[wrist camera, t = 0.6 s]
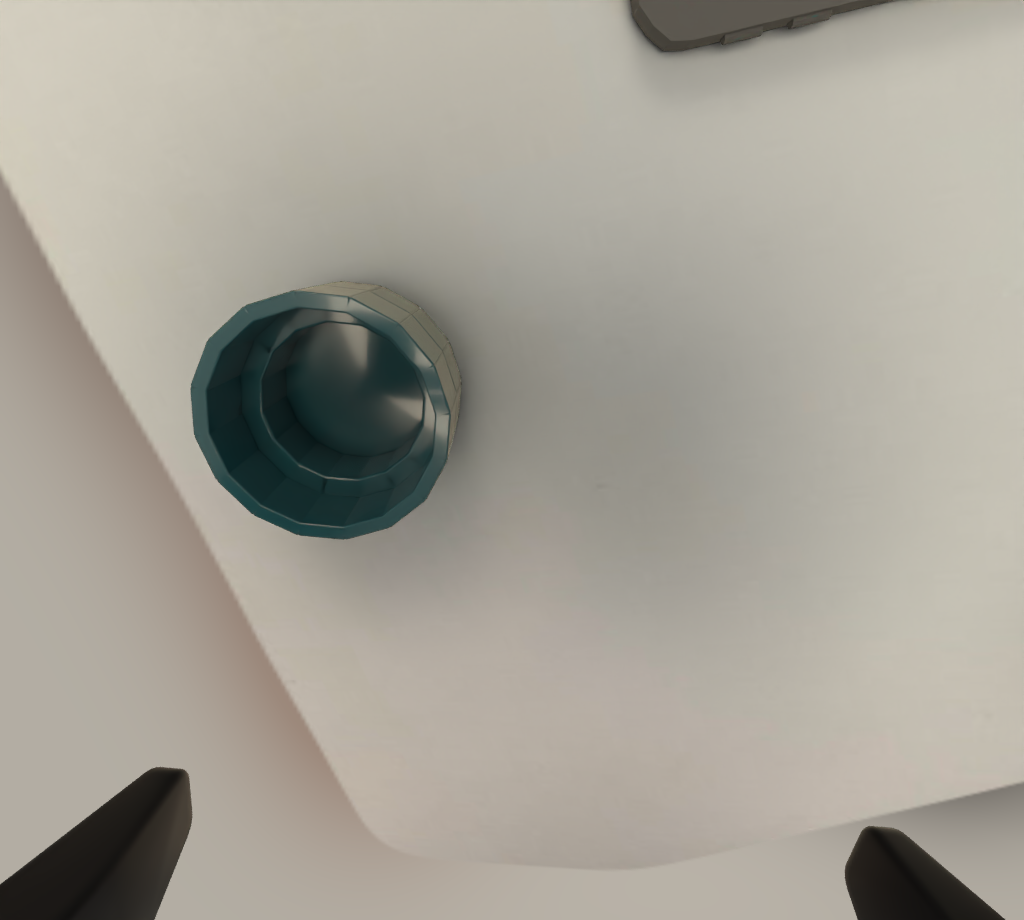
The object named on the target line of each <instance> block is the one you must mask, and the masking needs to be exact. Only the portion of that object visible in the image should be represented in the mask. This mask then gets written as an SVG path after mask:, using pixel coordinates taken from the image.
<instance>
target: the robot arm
mask: <svg viewBox="0 0 1024 920" xmlns="http://www.w3.org/2000/svg"><path fill="white" fill-rule="evenodd" d="M191 822H192V805H191V793H190V783H189V776H188V773H187V772H186V771H185V770H183V769H175V768H164V767H156V768H153V769H150V770H149V771H147V772H145V773H144V774H143V775H141V776H140V777H139V778H138V779H136V780H135V781H134V782H132V783H131V784H130V785H128V787H126V788H125V789H123V790H122V791H121V792H120V793H118V794H117V795H116V796H114V797H113V798H112V799H111V800H109V801H108V802H106V803H105V804H104V805H103V806H101V807H100V808H99V809H98V810H96V811H95V812H93V813H92V814H91V815H90V816H89V817H87V818H86V819H84V820H83V821H82V822H81V823H79V824H78V825H77V826H75V827H74V828H73V829H71V830H70V831H69V832H68V833H67V834H65V835H64V836H62V837H61V838H60V839H59V840H57V841H56V842H55V843H53V844H52V845H51V846H49V847H48V848H47V849H46V850H44V851H43V852H42V853H40V854H39V855H38V856H36V857H35V858H34V859H33V860H31V861H30V862H29V863H27V864H26V865H25V866H23V867H22V868H21V869H20V870H18V871H17V872H16V873H15V874H13V875H12V876H11V877H9V878H8V879H7V880H5V881H4V882H3V883H1V884H0V920H154V919H155V917H156V914H157V911H158V909H159V907H160V904H161V902H162V899H163V896H164V894H165V891H166V889H167V887H168V884H169V881H170V879H171V877H172V874H173V872H174V869H175V866H176V864H177V862H178V859H179V856H180V853H181V852H182V849H183V847H184V844H185V841H186V839H187V836H188V834H189V830H190V827H191ZM845 880H846V885H847V889H848V892H849V895H850V898H851V901H852V904H853V907H854V910H855V912H856V916H857V919H858V920H1005V919H1004V918H1002V917H1001V916H1000V915H999V914H998V913H997V912H996V911H995V910H993V909H992V908H991V907H990V906H989V905H987V904H986V903H985V902H984V901H983V900H982V899H980V898H979V897H978V896H977V895H976V894H974V893H973V892H972V891H971V890H970V889H969V888H968V887H966V886H965V885H964V884H963V883H962V882H961V881H959V880H958V879H957V878H956V877H954V876H953V875H952V874H951V873H950V872H949V871H948V870H946V869H945V868H944V867H943V866H942V865H941V864H939V863H938V862H937V861H936V860H935V859H934V858H932V857H931V856H930V855H929V854H928V853H926V852H925V851H924V850H923V849H922V848H920V847H919V846H918V845H917V844H916V843H915V842H914V841H912V840H911V839H910V838H909V837H907V836H906V835H905V834H904V833H903V832H901V831H899V830H897V829H894V828H888V827H875V826H868V827H866V828H865V829H863V830H862V832H861V834H860V836H859V838H858V840H857V842H856V844H855V846H854V848H853V850H852V853H851V855H850V857H849V859H848V861H847V863H846V866H845Z"/></svg>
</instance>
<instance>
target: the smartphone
mask: <svg viewBox="0 0 1024 920" xmlns="http://www.w3.org/2000/svg"><path fill="white" fill-rule="evenodd" d="M888 1H892V0H631V7H632V15H633V18H634V19H635V21H636V22H637V24H638V25H639V27H640V28H641V29H642V31H643V32H644V34H645V35H646V37H648V38H649V39H650V40H651V41H652V42H653V43H654V44H656V45H657V46H658V47H659V48H660V49H661V50H662V51H677V50H687V49H691V48H695V47H699V46H704V45H708V44H712V43H716V42H721V44H722V45H724V44H729V43H733V42H737V41H741V40H745V39H750V38H754V37H758V36H761V34H762V31H767V30H771V29H775V28H779V27H783V26H787V27H788V28H789V29H792V28H796V27H800V26H804V25H808V24H813V23H817V22H821V21H825V20H829V18H830V17H831V15H834V14H838V13H842V12H846V11H850V10H855V9H859V8H863V7H867V6H871V5H875V4H880V3H884V2H888Z"/></svg>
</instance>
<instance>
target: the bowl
mask: <svg viewBox="0 0 1024 920" xmlns="http://www.w3.org/2000/svg"><path fill="white" fill-rule="evenodd" d="M461 385H462V383H461V376H460V373H459V370H458V367H457V364H456V361H455V357H454V354H453V351H452V348H451V345H450V343H449V342H448V339H447V338H446V336H445V335H444V334H443V333H442V331H441V330H440V329H439V328H438V327H437V325H436V324H435V323H434V322H433V321H432V319H431V318H430V317H429V316H428V315H427V313H426V312H425V311H424V310H423V309H422V308H421V309H420V307H419V306H418V305H416V304H414V303H413V302H411V301H409V300H407V299H405V298H403V297H402V296H400V295H398V294H396V293H394V292H393V291H391V290H389V289H387V288H385V287H382V286H379V285H370V284H362V283H353V282H344V281H340V282H333V283H328V284H323V285H318V286H312V287H308V288H303V289H298V290H293V291H290V292H286V293H283V294H280V295H277V296H273V297H270V298H267V299H264V300H261V301H257V302H254V303H251V304H248V305H246V306H244V307H242V308H241V309H240V310H239V311H238V312H237V313H236V314H235V315H234V316H233V317H232V318H231V319H229V320H228V321H227V322H226V323H225V324H224V325H223V326H222V327H221V328H220V329H219V330H218V331H217V332H216V333H214V334H213V335H212V336H211V337H210V338H209V340H208V341H207V343H206V345H205V348H204V351H203V354H202V356H201V359H200V362H199V364H198V367H197V370H196V372H195V375H194V378H193V380H192V383H191V401H192V414H193V427H194V435H195V438H196V440H197V442H198V444H199V446H200V448H201V450H202V452H203V454H204V456H205V458H206V460H207V462H208V464H209V466H210V468H211V470H212V472H213V474H214V476H215V478H216V479H217V481H218V482H219V483H220V484H221V485H222V486H223V487H224V488H225V489H226V490H227V491H228V492H229V493H230V494H232V495H233V496H234V497H235V498H236V499H237V500H238V501H239V502H240V503H241V504H242V505H243V506H244V507H245V508H246V509H247V510H248V511H250V512H251V513H252V514H254V515H255V516H257V517H259V518H261V519H263V520H265V521H268V522H270V523H272V524H274V525H276V526H279V527H281V528H283V529H285V530H287V531H290V532H292V533H294V534H296V535H300V536H311V537H322V538H332V539H343V540H344V539H350V538H354V537H357V536H361V535H365V534H369V533H372V532H376V531H380V530H383V529H387V528H389V527H392V526H393V525H394V524H396V523H397V522H398V521H400V520H401V519H402V518H403V517H405V516H406V515H407V514H409V513H410V512H411V511H413V510H414V509H415V508H416V507H418V506H419V505H420V504H422V503H423V502H424V501H425V500H426V499H427V497H428V495H429V494H430V492H431V490H432V488H433V486H434V485H435V483H436V481H437V479H438V477H439V475H440V474H441V472H442V470H443V468H444V466H445V464H446V463H447V459H448V456H449V452H450V448H451V445H452V441H453V437H454V433H455V429H456V425H457V422H458V418H459V408H460V397H461Z"/></svg>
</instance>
